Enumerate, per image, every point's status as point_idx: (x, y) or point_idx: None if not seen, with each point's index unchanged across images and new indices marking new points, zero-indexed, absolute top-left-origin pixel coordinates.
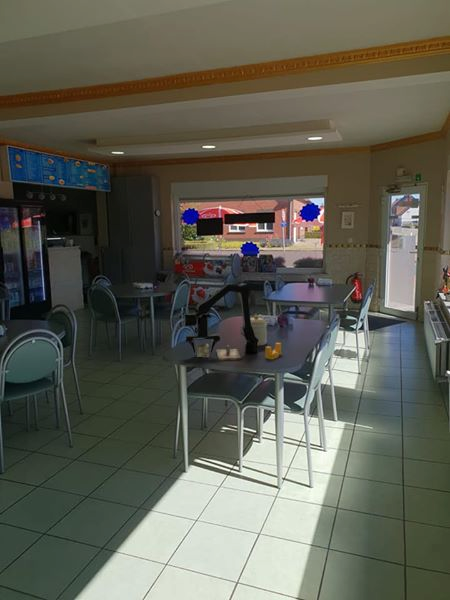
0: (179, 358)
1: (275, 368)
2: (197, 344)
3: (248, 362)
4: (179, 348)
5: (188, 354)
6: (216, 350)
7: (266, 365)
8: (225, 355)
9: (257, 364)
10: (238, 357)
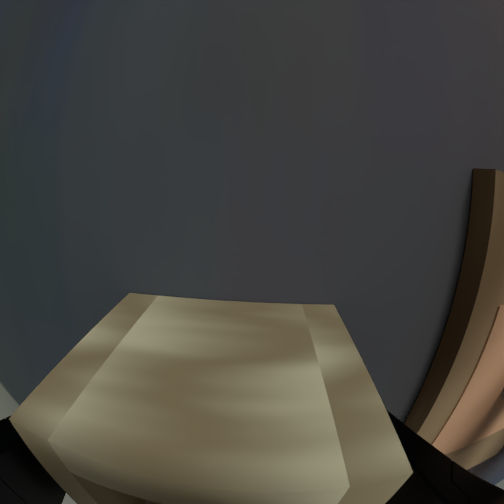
0: (11, 378)
1: (494, 484)
2: (40, 455)
3: (484, 466)
4: (3, 11)
5: (29, 264)
6: (490, 237)
7: (500, 472)
8: (457, 447)
9: (489, 474)
10: (490, 455)
